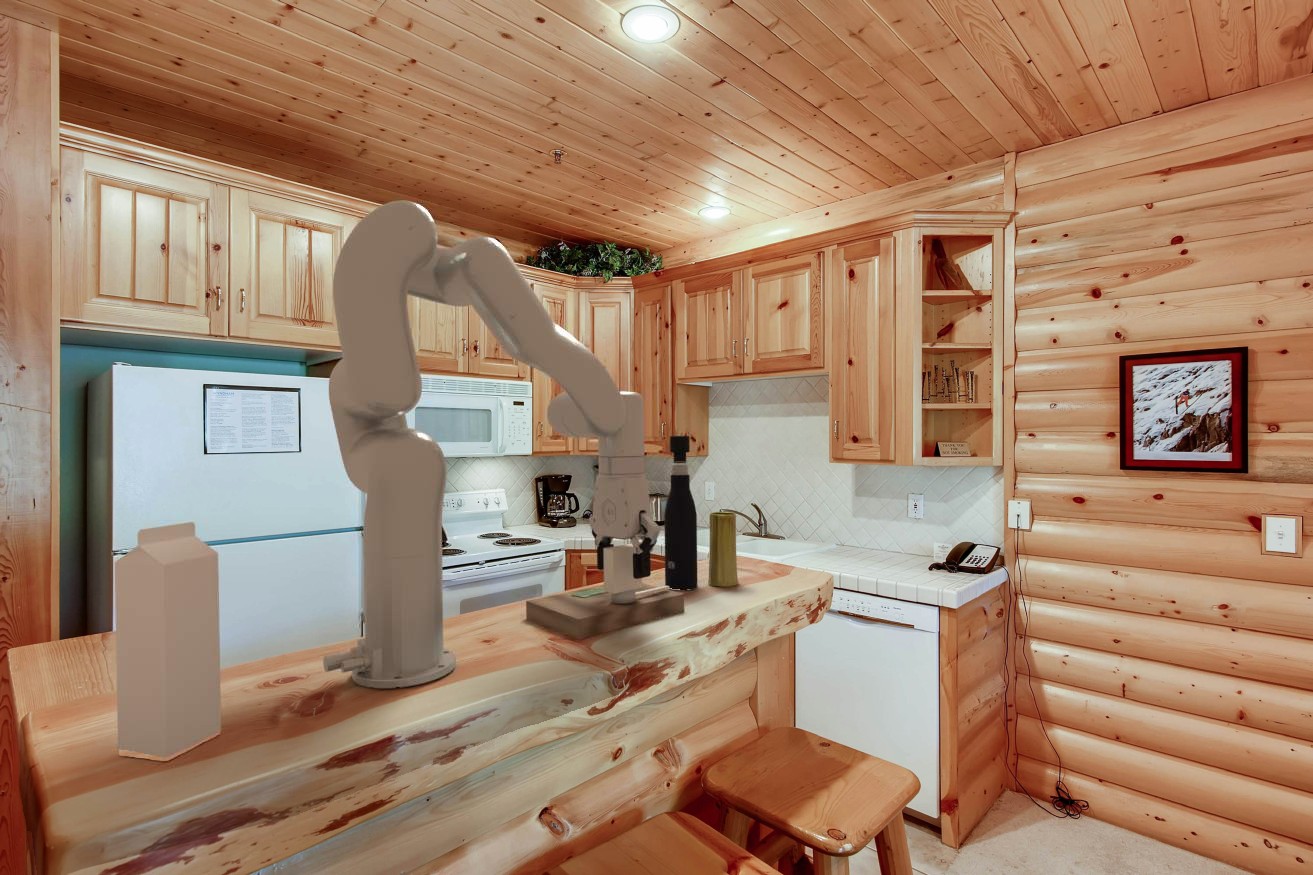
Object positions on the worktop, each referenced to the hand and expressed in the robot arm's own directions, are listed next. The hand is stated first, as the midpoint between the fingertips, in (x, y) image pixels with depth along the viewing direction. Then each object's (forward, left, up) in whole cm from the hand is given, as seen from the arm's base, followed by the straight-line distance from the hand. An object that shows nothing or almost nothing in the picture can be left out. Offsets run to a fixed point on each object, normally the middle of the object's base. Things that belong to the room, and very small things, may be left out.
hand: (623, 572), depth 107 cm
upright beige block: (+3, 0, -5) cm, 6 cm away
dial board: (0, +5, -8) cm, 9 cm away
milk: (-60, -2, -8) cm, 61 cm away
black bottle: (+23, +10, -8) cm, 26 cm away
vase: (+31, +6, -8) cm, 33 cm away
